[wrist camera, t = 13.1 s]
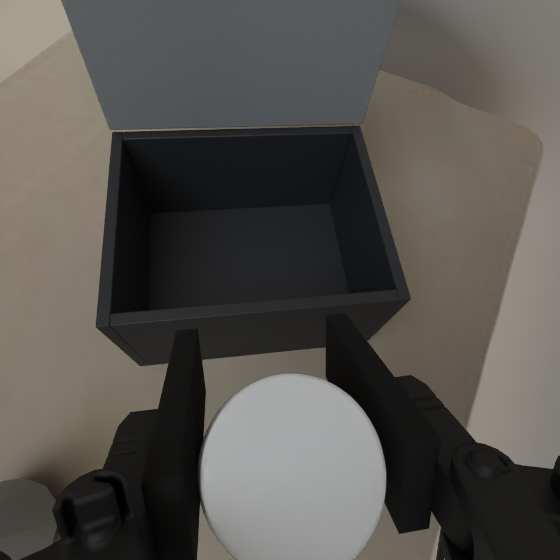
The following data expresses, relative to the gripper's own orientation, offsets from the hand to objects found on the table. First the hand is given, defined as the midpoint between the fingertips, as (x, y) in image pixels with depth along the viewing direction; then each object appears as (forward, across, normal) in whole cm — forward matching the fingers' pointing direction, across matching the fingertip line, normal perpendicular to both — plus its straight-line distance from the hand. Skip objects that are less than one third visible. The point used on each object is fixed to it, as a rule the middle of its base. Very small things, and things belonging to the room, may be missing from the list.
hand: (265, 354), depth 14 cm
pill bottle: (0, 0, -5) cm, 5 cm away
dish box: (+22, +1, -4) cm, 22 cm away
